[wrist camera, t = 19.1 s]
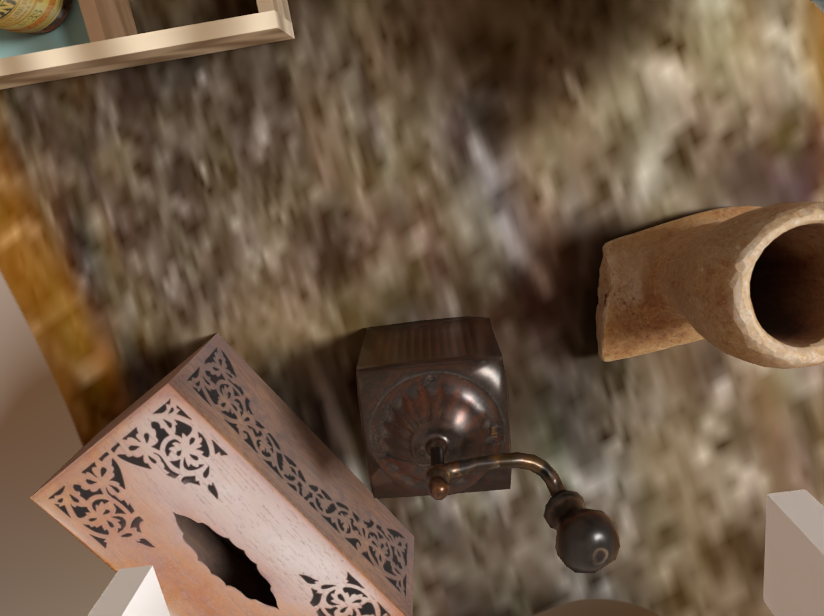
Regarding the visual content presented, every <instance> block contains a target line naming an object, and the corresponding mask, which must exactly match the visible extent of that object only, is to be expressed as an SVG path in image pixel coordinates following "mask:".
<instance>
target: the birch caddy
mask: <svg viewBox="0 0 824 616" xmlns="http://www.w3.org/2000/svg"><path fill="white" fill-rule="evenodd" d="M256 1H257V6H258V11H259V13H255V14H250V15H244V16H238V17H233V18H227V19H221V20H216V21H210V22H204V23H199V24H193V25H187V26H182V27H176V28H170V29H165V30H159V31H153V32H148V33H142V34H138V33H137V30H136V26H135V22H134V18H133V15H132V11H131V7H130V4H129V0H72V3H71V4H70V9H69V11H68V14H67V16H66V18H65V20H64V21H63V22H62V23H61V25H60V26H58V27H56V28H55V29H54V30H52V31H49V32H44V33H38V34H27V33H15V32H11V31H7V30H4V29H1V28H0V90H1V89H7V88H13V87H19V86H24V85H30V84H36V83H42V82H48V81H53V80H59V79H65V78H71V77H76V76H82V75H88V74H94V73H100V72H105V71H111V70H117V69H123V68H129V67H134V66H140V65H146V64H152V63H157V62H163V61H169V60H175V59H181V58H186V57H192V56H198V55H204V54H209V53H215V52H221V51H227V50H233V49H238V48H244V47H250V46H256V45H262V44H267V43H273V42H279V41H285V40H290V39H295V37H294V32H293V27H292V22H291V16H290V11H289V6H288V1H287V0H256Z"/></svg>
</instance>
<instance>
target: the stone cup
mask: <svg viewBox="0 0 824 616" xmlns="http://www.w3.org/2000/svg"><path fill="white" fill-rule="evenodd" d="M602 251H603V259H602V262H601V266H600V269H599V273H600V277H599V287H598V298H599V300H598V305H597V309H596V327H597V332H596V336H597V341H598V354H599V356H600V358H601V360H603V361H613V360H618V359H624V358H628V357H633V356H637V355H642V354H647V353H650V352H654V351H658V350H662V349H666V348H669V347H672V346H675V345H682V344H686V343H690V342H694V341H698V340H702V339H706V340H707V341H709V342H710V343H711V344H713V345H714V346H715V347H717V348H719V349H720V350H722V351H723V352H725V353H727V354H729V355H731V356H734V357H736V358H739V359H741V360H744V361H747V362H750V363H753V364H757V365H760V366H763V367H771V368H781V369H788V368H801V367H808V366H815V365H818V364H821V363H824V202H794V203H780V204H774V205H769V206H765V207H756V206H734V207H725V208H718V209H712V210H708V211H704V212H700V213H696V214H693V215H690V216H686V217H683V218H680V219H677V220H673V221H670V222H667V223H663V224H660V225H657V226H654V227H651V228H648V229H645V230H642V231H639V232H636V233H633V234H630V235H626V236H622V237H619V238H616V239H614V240H612V241H609V242H607V243H605V244H604V246H603V249H602Z"/></svg>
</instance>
